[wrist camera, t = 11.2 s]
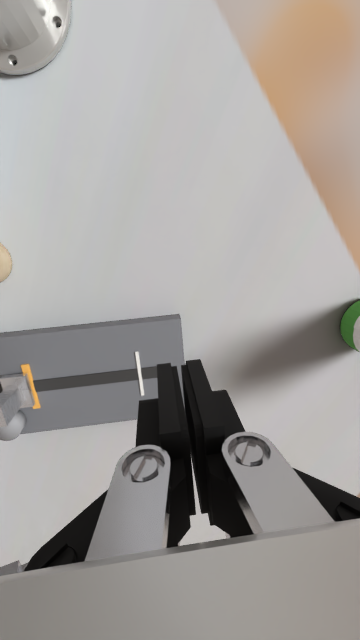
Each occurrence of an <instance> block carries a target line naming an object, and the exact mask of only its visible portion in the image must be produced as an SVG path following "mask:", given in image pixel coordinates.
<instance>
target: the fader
mask: <svg viewBox="0 0 360 640" xmlns="http://www.w3.org/2000/svg"><path fill="white" fill-rule="evenodd" d="M0 382H1V386H2V389H3V391H2V392H1V393H0V427H6V426H8V424H9V423H10V421H11V420H12V419H13V417H14V416H15V415H16V413H17V412H18V410H19V409H20V408H26V407H33V406H34V405H35V399H34V395H33V392H32V388H31V384H30V381H29V377H28V374H27V373H22V374H13V375H4V376H2V377H1V378H0Z"/></svg>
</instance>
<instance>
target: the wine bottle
mask: <svg viewBox="0 0 360 640" xmlns="http://www.w3.org/2000/svg"><path fill="white" fill-rule="evenodd" d="M340 330H341V335H342V337H343V340H344V341H345V342H346V343H347V344H348V345H349V346H350V347H352V348H353V349H355V350H357V351H358V352H360V300H359V301H357V302H356V303H354V304H353V305H351V306H350V307H349V308H348V309H347V311H346V312H345V313H344V315H343V318H342V320H341V325H340Z"/></svg>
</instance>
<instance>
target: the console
mask: <svg viewBox="0 0 360 640" xmlns="http://www.w3.org/2000/svg"><path fill="white" fill-rule="evenodd" d="M164 363H171V366H177V370H178V376H179V381H180V387H181V392H182V397H183V403H184V395H183V384H182V372H181V365H185V364H184V352H183V340H182V328H181V318H180V315H179V314H176V315H166V316H157V317H147V318H138V319H128V320H119V321H109V322H100V323H90V324H81V325H71V326H62V327H52V328H43V329H33V330H23V331H14V332H4V333H0V378H1V377H2V376H4V375H13V374H22V373H27V374H28V377H29V381H30V384H31V388H32V392H33V395H34V399H35V405H34V406H33V407H26V408H20V409H19V410H18V412H17V413H16V415H15V416H14V417H13V419H12V420H11V421H10V423H9V424H8V426H6V427H0V440H3V441H10V440H13V439H15V438H17V437H18V436H19V434H26V433H34V432H42V431H50V430H57V429H65V428H73V427H81V426H89V425H97V424H105V423H112V422H120V421H128V420H136V419H138V406H139V400H147V399H155V398H158V381H157V364H164ZM2 391H3V389H2V386H1V382H0V393H1V392H2ZM184 408H185V406H184Z"/></svg>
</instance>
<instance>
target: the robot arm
mask: <svg viewBox="0 0 360 640" xmlns="http://www.w3.org/2000/svg"><path fill="white" fill-rule="evenodd" d="M71 8H72V6H71V0H0V73H5V74H9V75H22V74H27V73H31V72H34V71H36V70H38V69H40V68H42V67H44V66H45V65H47V64H48V63H49V62H50V61H51V60H53V59H54V57H55V56H56V55H57V53H58V52H59V51H60V49H61V48H62V46H63V43H64V41H65V39H66V37H67V34H68V30H69V26H70V20H71ZM59 25H61V27H59V28H57V27H58V26H59ZM16 62H17V64H16V65H15V66H14V64H15V63H16ZM181 372H182V384H183V395H184V403H183V397H182V392H181V387H180V381H179V376H178V370H177V366H171V363H164V364H157V381H158V398H155V399H147V400H139V406H138V421H137V435H136V447H135V448H132V449H131V450H129V451H128V452H126V453H125V454H124V455H123V456H122V457H121V458H120V459H119V461H118V463H117V465H116V468H115V471H114V474H113V477H112V480H111V483H110V486H109V489H108V490H107V491H106V492H104V493H103V494H102V495H101V496H100V497H99V498H98V499H96V500H95V501H94V502H93V503H92V504H91V505H89V506H88V507H87V508H86V509H85V510H84V511H83V512H81V513H80V514H79V515H78V516H77V517H76V518H75V519H73V520H72V521H71V522H70V523H69V524H68V525H66V526H65V527H64V528H63V529H62V530H61V531H60V532H58V533H57V534H56V535H55V536H54V537H53V538H52V539H50V540H49V541H48V542H47V543H46V544H45V545H43V546H42V547H41V548H40V549H39V550H38V551H37V552H36V554H35V555H34V556H33V557H32V558H31V560H30V561H29V562H28V563H26V564H23V565H21V564H20V562H19V560H18V561H16V562H13V563H10V564H8V565H5V566H2V567H0V640H360V498H358V497H356V496H354V495H352V494H349V493H347V492H345V491H343V490H341V489H338V488H336V487H334V486H332V485H330V484H327V483H325V482H323V481H321V480H319V479H316V478H314V477H312V476H310V475H308V474H305V473H303V472H301V471H299V470H297V469H294V468H292V467H291V466H290V464H289V463H288V462H287V461H286V459H285V458H284V457H283V456H282V454H281V453H280V452H279V450H278V449H277V448H276V447H275V445H274V444H273V443H272V442H271V441H270V440H269V439H268V438H266V437H264V436H262V435H260V434H257V433H253V432H245V430H244V428H243V426H242V423H241V421H240V419H239V417H238V415H237V412H236V410H235V408H234V406H233V404H232V402H231V399H230V397H229V395H228V393H227V391H226V390H220V391H212V390H211V387H210V385H209V382H208V379H207V377H206V374H205V371H204V368H203V366H202V363H201V360H200V359H198V360H190V361H186V365H181ZM184 406H185V408H184ZM191 458H192V463H193V469H194V475H195V481H196V486H197V492H198V498H199V503H200V509H201V514H203V513H208V516H209V521H210V526H211V525H216V526H217V527H219V528H220V529H222V530H223V531H224V532H226V539H221V540H215V541H208V542H202V543H196V544H189V545H183V546H180V540H181V539H182V538H183V536H184V535H185V534H186V532H187V531H188V530H189V529H190V515H196V510H195V499H194V487H193V476H192V464H191Z"/></svg>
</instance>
